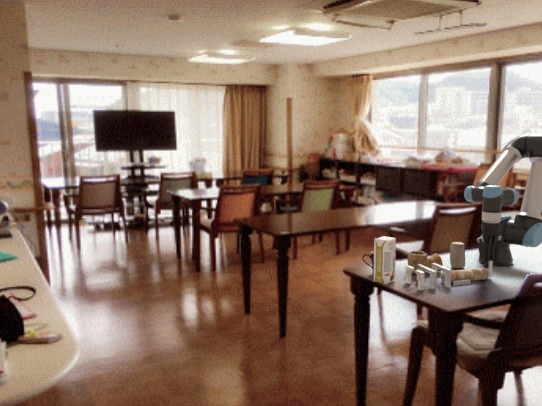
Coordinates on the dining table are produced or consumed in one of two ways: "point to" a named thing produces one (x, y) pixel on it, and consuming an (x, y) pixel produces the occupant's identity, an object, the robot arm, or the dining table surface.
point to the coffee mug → (371, 259)
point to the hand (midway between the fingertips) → (488, 275)
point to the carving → (457, 255)
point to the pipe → (423, 259)
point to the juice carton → (384, 259)
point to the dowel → (467, 274)
